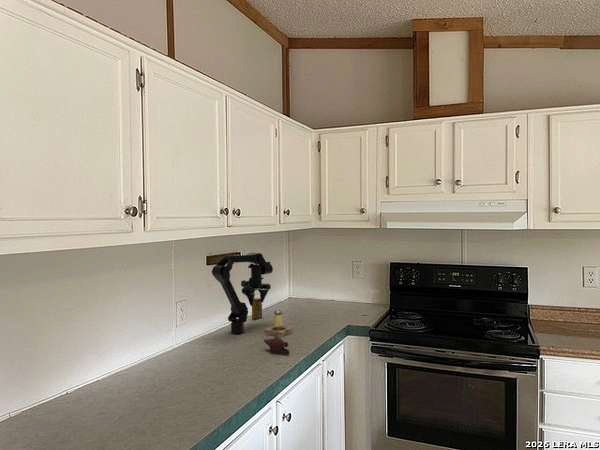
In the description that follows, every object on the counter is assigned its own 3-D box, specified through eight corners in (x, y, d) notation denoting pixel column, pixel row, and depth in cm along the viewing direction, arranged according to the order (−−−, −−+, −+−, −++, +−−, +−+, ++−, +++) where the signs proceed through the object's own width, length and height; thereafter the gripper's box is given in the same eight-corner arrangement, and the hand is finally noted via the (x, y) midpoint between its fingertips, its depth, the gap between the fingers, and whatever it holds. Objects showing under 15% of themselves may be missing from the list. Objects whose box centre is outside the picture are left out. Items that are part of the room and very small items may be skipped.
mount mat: (274, 332, 222) (274, 332, 222) (261, 330, 227) (261, 329, 227) (284, 328, 229) (284, 328, 229) (271, 326, 234) (271, 325, 234)
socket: (281, 338, 212) (281, 332, 212) (265, 335, 217) (265, 329, 217) (292, 333, 220) (292, 327, 220) (276, 330, 226) (276, 325, 225)
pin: (279, 336, 216) (279, 312, 215) (272, 335, 218) (272, 311, 218) (284, 334, 219) (284, 311, 219) (277, 332, 222) (277, 310, 221)
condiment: (258, 316, 258) (258, 297, 258) (266, 319, 251) (266, 299, 251) (248, 318, 253) (248, 298, 253) (256, 321, 247) (256, 300, 247)
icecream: (257, 337, 192) (282, 346, 183) (268, 329, 197) (293, 338, 188) (259, 350, 194) (284, 360, 185) (269, 343, 199) (294, 351, 190)
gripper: (255, 272, 244) (255, 299, 244) (233, 277, 228) (234, 305, 229) (270, 274, 238) (271, 301, 238) (249, 278, 222) (250, 308, 223)
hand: (256, 304), depth 232 cm, fingers open, 9 cm apart
